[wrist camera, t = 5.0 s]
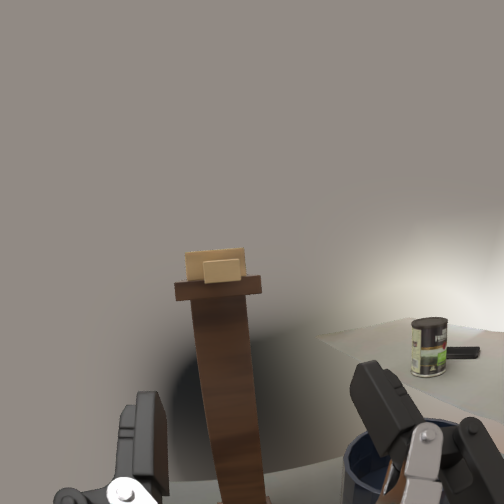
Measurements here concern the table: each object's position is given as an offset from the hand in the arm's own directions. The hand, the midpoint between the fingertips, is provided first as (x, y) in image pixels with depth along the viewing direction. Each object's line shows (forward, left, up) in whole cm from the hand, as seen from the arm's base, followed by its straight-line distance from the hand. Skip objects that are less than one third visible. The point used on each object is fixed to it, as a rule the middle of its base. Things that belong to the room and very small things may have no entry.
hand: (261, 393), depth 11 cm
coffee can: (+52, -53, -28) cm, 79 cm away
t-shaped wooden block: (+14, +1, +4) cm, 14 cm away
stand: (+18, +1, -28) cm, 33 cm away
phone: (+55, -68, -28) cm, 92 cm away
